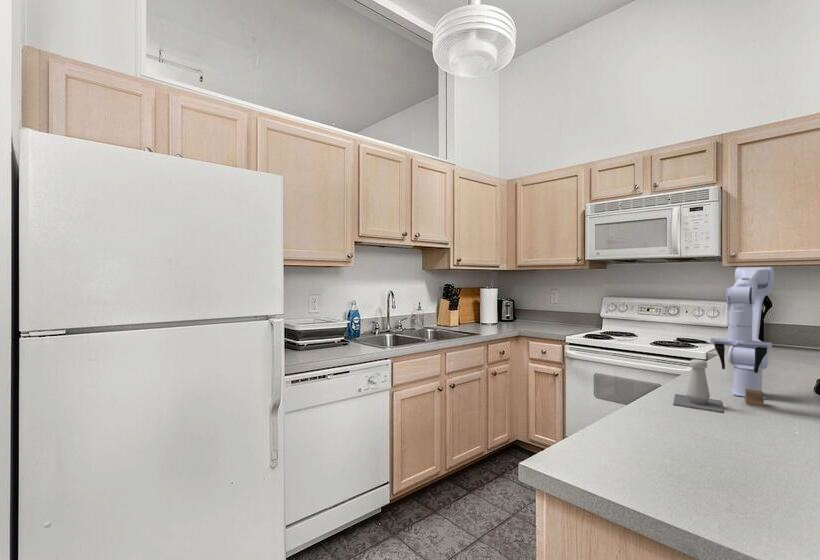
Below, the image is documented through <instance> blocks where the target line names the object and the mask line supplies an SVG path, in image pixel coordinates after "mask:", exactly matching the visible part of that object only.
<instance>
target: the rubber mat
mask: <svg viewBox="0 0 820 560" xmlns="http://www.w3.org/2000/svg"><path fill="white" fill-rule="evenodd" d="M672 406H677V407H682V406H683V407H684V408H688V407H689V408H688V409H696V410H702V411H708V412H713V413H721V414H724V407H723V403H722V400H721V399H715V398H709V400H708V401H707V403H706V404H704V405H702V404H695V403H692V402H690V400H689V398H688V396H687V394H678V393H675V394H674V399H673V404H672Z"/></svg>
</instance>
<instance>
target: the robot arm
mask: <svg viewBox="0 0 820 560" xmlns="http://www.w3.org/2000/svg"><path fill="white" fill-rule="evenodd" d="M774 276H775V271H774V268H773V267H772V266H767V267H765V266H761V267H759V266H757V267H750V266H749V267H744V266H743V267H742V266H741V267H740V266H737V267H736V268H735V272H734V281H735V282H734V284H733V286H730V287H728V288H726V293H725V296H726V297H725V299H726V304H727V311H728V319H727V320H728V323H727V324H728V326H727V327H728V330H727V338H726V337H725V338H722V337H721V338H720V337H709V338H710V339H709V340H710V342H709V345H713V346H714V348H715V351H716V353H717V355H718V357H719V360H720V363H721V369H722V370H726V362H725V353H726V352H725V351H726V348H725V346H728V351H727V361H728V363H729V365H732V368H733V387H730V390H731V394H732V395H733V396H735V397H736V396H737V397H743V398H745V389H751V390H759V391H762V390H763V370H766V369H767V368H768V367H769V350H771V351H772V350H773V343H772V342H769V341H762V340H760V339H759V335H760V328H761V327H760V326H761V318H762V317H761V316H762V310H763V309H762V307H763V302H764V299H765V297H766V296H769V295H771V294H772V291H773V289H774V287H773V286H774V282H775V281H774V279H775V277H774ZM762 392H763V391H762ZM765 398H766V397H764V400H765Z"/></svg>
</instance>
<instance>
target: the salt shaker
mask: <svg viewBox="0 0 820 560" xmlns="http://www.w3.org/2000/svg"><path fill="white" fill-rule="evenodd" d="M689 366H690V367H689V368H691V374H690V378H689V380H688V385H687V389H686V395H687V396H688V398H689V400H690V402H692V403H695V404H702V405H704V404H706V403H707V401H708V400H709V399H711V398H710V397H711V395H710V390H709V386H708V385H709V384H708V380H707V374H706V369H707V367H708V363H707V361H706V360H703V359H693V358H692V359H691V360H690V361H689Z"/></svg>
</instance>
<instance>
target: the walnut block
mask: <svg viewBox="0 0 820 560" xmlns="http://www.w3.org/2000/svg"><path fill="white" fill-rule="evenodd" d="M764 395H765V394H764V392H763V391H759V390H751V389H745V397H744V403H745V402H746V403H745V405H747V404H748V406H754V405H755V407H762V408H764V401H765V399H764V398H765V396H764Z"/></svg>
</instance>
